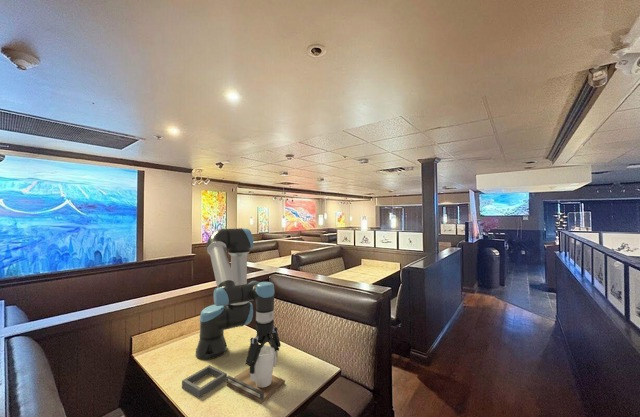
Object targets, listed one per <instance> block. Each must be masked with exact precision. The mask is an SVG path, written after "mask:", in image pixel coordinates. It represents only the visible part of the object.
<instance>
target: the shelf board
mask: <svg viewBox="0 0 640 417" xmlns="http://www.w3.org/2000/svg"><path fill="white" fill-rule="evenodd" d="M250 379H251V373H250V366H249V367H248V368H246V369H245V370H243V371H241V372H240V373H238V374H237V375H235V376H234V377H233V376H231V375H227V380H226V386H227V387H228V388H230V389H232V390H233V391H236V392H238V393H239V394H242V395H243V396H245V397H247V398H249V399H251V400H253V401H255V402H256V403H259V404H261V405H262V404H264V403H265V402H266V401H267V400H268V399H269V398H271V397H272V396H273V395H274V394H275V393H276V392H277V391H279V390H280V389H281V388H282V387H283V386H285V385H286V384H285V383H286V381H285V379H282V378H280V377H279V376H276V375H273V374H272V380H271V384H270V385H269V386H267V387H257V385H256V382H254V381H252V380H250Z"/></svg>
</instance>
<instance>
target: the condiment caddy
mask: <svg viewBox="0 0 640 417" xmlns="http://www.w3.org/2000/svg"><path fill="white" fill-rule="evenodd" d="M207 375H210V376H212V377H214V379H212V380H210V381H209V382H207V383H205V384H204V385H202V386H201V387H200V386H198V385H197V384H195V383H196V382H197V381H199V380H201V379H203V378H204V377H206V376H207ZM227 376H228V373H227V372H225V371H223V370H220V369H219V368H216V367H215V366H212V365H207V366H205V367H204V368H201V369H200V370H198V371H196V372H195V373H192V374H191V375H189V376H187V377H186V378H184V379H182V380H181V388H182V389H183V390H184V391H186V392H188V393H190V394H192V395H193V396H195V397H197V398H198V399H201V398H202V397H203V396H205V395H207V394H208V393H210V392H211V391H213V390H214V389H216V388H218V386H220V385H222V384H223V383H225V382H227Z"/></svg>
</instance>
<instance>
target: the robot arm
mask: <svg viewBox="0 0 640 417" xmlns="http://www.w3.org/2000/svg"><path fill="white" fill-rule="evenodd" d="M253 248H254V237H253V233H252V230H250V229H249V228H243V227H241V228H239V227H238V228H220V229H219V228H218V229H217V230H215V231H214V232H212V234H211V235H210V236H209V237H208V238H207V242H206V253H207V254H208V255H209V256H210V261H211V265H212V266H211V267H212V269H213V270H212V271H213V273H214V279H215V283H216V287H215V288H214V290H213V304H211V305H209V306H206V307H205V308H203V309H202V310H201V311H200V316H199V317H200V318H199V340H198V344H197V346H196V349H195V357H196V358H197V359H199V360H205V361H207V360H213V359H217V358H220V357H221V356H223V355H224V354H225V353H227V351H228V345H227V341H226V339H225V336H224V335H225V334H224V332H225V330H230V329H235V328H239V327H244V326H247V325H249V324H250V323H251V322H252V320H253V316H254V309H253V308H254V307H253V306H254V305H253V303H252V301H253V302H255V331H256V336H255V337H250V344H249V348H248V352H247V356H246V361H245V365H246V366H249V367H250V373H251V379H250V380H252V381H254V382H256V381H257V364H256V361H257V359H258V356H259V353H260V351H261V348H262V347H263V346H265V344H266V343H268V344H269V346H271V347H273V348H274V349H275V355H274V361H273V367H274V368H276V367H277V357H278V352H279V351H280V348H281V346H282V344H281V342H280V338H279V334H278V327H276V326H275V321H274V318H275V317H274V316H275V314H274V313H275V311H274V309H275V285H274V283H273V282H270V281H261V282H260V281H257V280H251V281H250V282H248V276H247V275H248V273H247V272H248V254H249V253H250V251H251V250H252V249H253ZM250 249H251V250H250ZM227 253H228V255H230V261H229V258H228V255H227Z"/></svg>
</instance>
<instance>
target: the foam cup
mask: <svg viewBox="0 0 640 417" xmlns="http://www.w3.org/2000/svg"><path fill="white" fill-rule="evenodd" d="M274 355H275V349H274V348H273V347H271V346H270V345H264V346H263V347H262V348H261V351H260V353H259V356H258V359H257V361H256V364H257V381H256V385H257V387H267V386H269V385H270V384H271V380H272V375H273V369H274V368H273V367H274V366H273V361H274Z"/></svg>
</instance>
